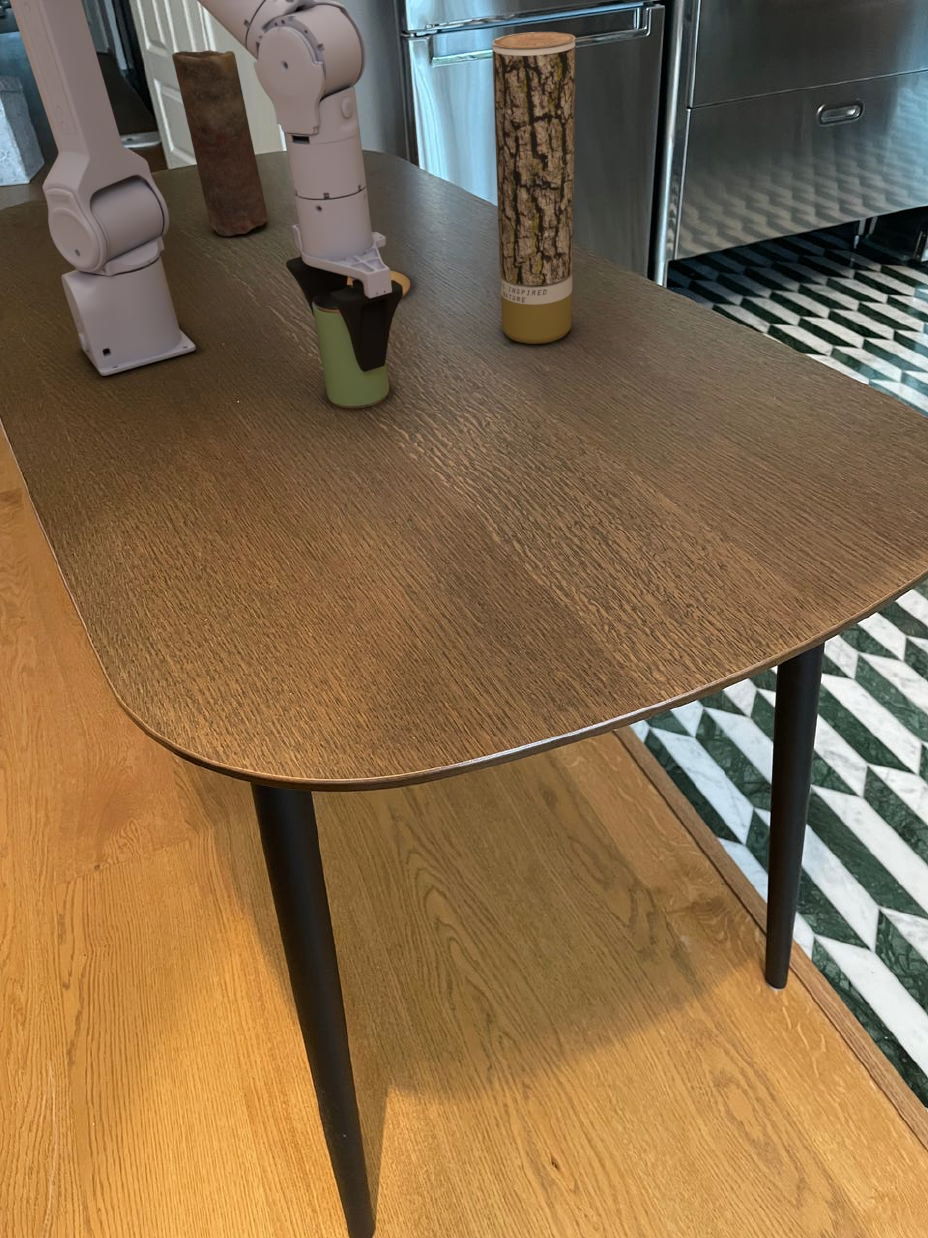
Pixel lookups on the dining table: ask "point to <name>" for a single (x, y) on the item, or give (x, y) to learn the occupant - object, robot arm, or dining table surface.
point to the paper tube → (535, 182)
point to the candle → (221, 140)
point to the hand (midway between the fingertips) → (353, 351)
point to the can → (344, 359)
